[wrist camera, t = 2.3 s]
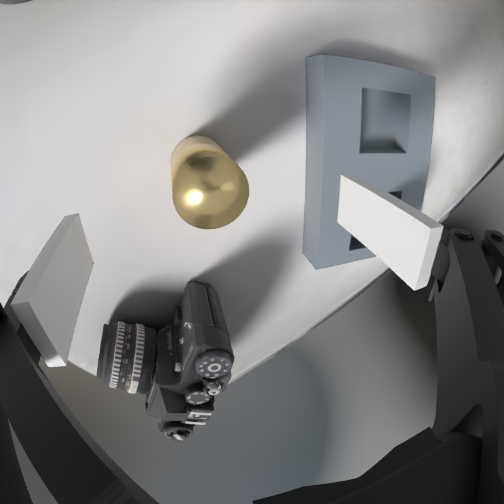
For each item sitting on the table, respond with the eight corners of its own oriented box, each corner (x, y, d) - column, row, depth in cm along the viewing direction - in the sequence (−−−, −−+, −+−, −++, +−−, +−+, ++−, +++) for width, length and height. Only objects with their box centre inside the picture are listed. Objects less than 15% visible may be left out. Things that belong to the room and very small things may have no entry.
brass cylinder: (167, 139, 20) (167, 162, 14) (220, 132, 21) (247, 152, 15) (174, 189, 22) (178, 234, 16) (224, 181, 23) (250, 223, 17)
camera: (113, 259, 24) (97, 344, 16) (226, 285, 29) (254, 365, 20) (98, 362, 29) (93, 437, 21) (186, 375, 34) (199, 446, 26)
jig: (305, 57, 19) (365, 49, 13) (413, 74, 22) (477, 83, 15) (302, 252, 29) (342, 304, 22) (396, 234, 31) (442, 272, 25)
